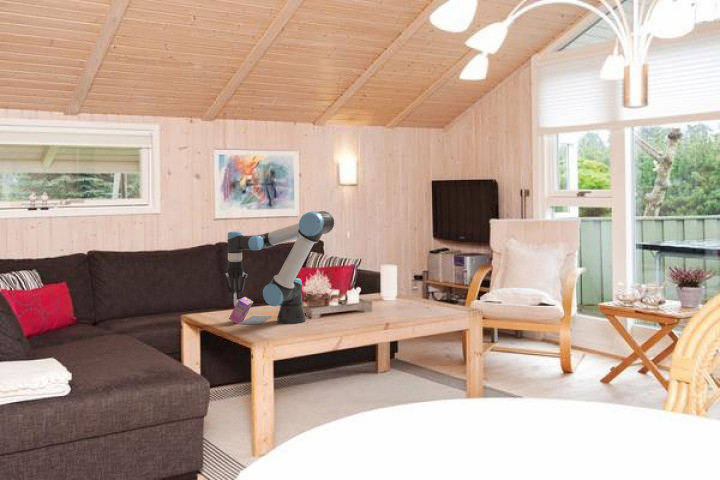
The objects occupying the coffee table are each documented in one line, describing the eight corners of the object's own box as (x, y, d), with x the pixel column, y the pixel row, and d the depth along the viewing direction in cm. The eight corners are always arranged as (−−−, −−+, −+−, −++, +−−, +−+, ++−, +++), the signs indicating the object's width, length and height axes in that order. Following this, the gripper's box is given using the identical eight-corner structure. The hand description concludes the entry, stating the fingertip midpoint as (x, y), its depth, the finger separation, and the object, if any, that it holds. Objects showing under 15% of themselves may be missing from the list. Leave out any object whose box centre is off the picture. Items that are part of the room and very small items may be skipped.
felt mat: (271, 316, 404) (271, 316, 404) (259, 324, 380) (259, 323, 380) (252, 316, 405) (252, 315, 405) (239, 324, 382) (239, 323, 382)
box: (237, 324, 382) (247, 304, 381) (228, 319, 383) (238, 299, 381) (243, 320, 393) (253, 301, 391) (234, 315, 393) (244, 296, 392)
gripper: (249, 260, 388) (250, 304, 390) (225, 260, 390) (226, 304, 392) (245, 261, 381) (245, 306, 383) (220, 261, 383) (221, 306, 384)
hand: (236, 305), depth 387 cm, fingers closed
